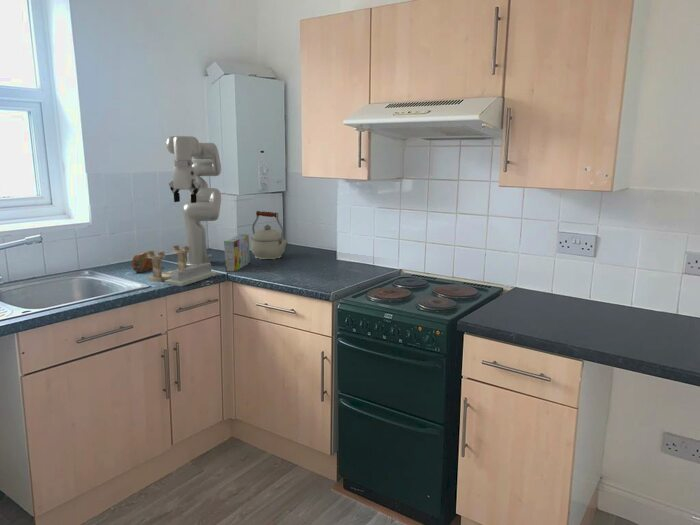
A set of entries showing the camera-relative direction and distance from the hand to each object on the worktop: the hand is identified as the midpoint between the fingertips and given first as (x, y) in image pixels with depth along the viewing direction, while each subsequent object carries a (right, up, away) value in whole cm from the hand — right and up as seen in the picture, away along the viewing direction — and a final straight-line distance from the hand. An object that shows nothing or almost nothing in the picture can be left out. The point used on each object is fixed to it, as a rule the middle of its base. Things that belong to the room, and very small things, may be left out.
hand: (185, 202), depth 249 cm
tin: (-24, -32, +13) cm, 41 cm away
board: (+5, -35, -5) cm, 36 cm away
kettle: (+32, -25, +46) cm, 62 cm away
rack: (-7, -34, 0) cm, 35 cm away
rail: (+5, -34, -6) cm, 34 cm away
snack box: (+20, -30, +21) cm, 42 cm away
